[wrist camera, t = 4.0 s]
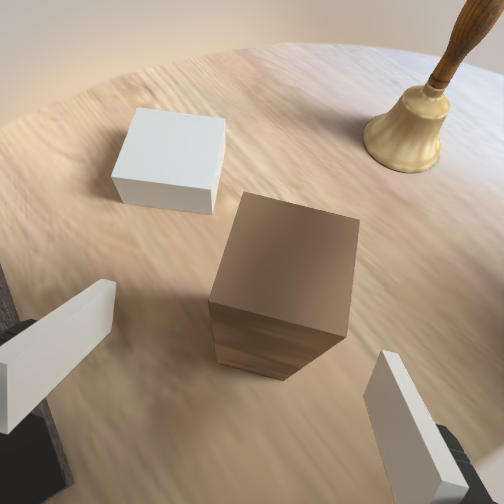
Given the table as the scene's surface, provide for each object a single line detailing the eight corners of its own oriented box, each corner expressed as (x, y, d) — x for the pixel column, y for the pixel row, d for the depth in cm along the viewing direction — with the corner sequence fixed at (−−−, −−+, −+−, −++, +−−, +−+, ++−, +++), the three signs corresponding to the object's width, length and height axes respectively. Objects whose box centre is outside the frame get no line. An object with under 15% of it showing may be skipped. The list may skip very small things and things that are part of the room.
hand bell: (346, 133, 36) (426, -55, 22) (399, 106, 38) (500, -79, 24) (402, 186, 33) (536, 10, 19) (455, 153, 36) (607, -24, 22)
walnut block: (296, 315, 26) (359, 219, 14) (283, 380, 24) (346, 337, 12) (235, 299, 27) (243, 191, 14) (216, 362, 24) (208, 300, 12)
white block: (225, 150, 34) (225, 118, 30) (212, 216, 30) (210, 189, 27) (146, 140, 34) (137, 107, 30) (124, 205, 30) (110, 176, 27)
